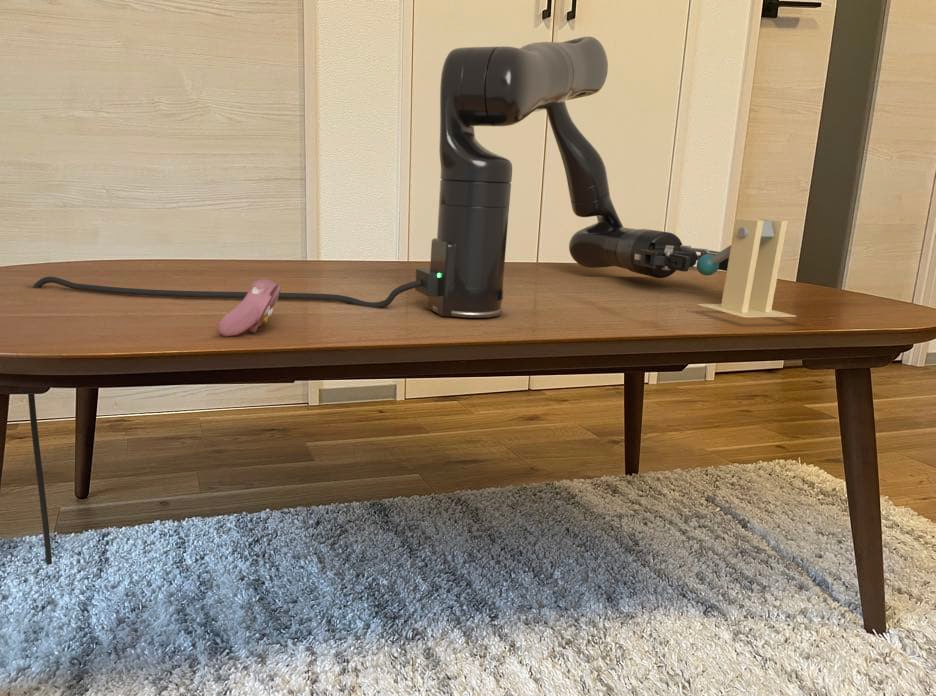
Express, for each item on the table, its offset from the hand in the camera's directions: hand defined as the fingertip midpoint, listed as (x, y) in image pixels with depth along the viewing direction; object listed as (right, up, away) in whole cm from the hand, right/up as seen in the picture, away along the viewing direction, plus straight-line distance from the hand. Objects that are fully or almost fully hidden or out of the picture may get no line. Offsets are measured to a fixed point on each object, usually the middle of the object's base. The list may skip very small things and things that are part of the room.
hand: (711, 264), depth 117 cm
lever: (+1, 0, -4) cm, 5 cm away
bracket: (+2, -9, -6) cm, 11 cm away
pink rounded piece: (-64, -13, -27) cm, 71 cm away
